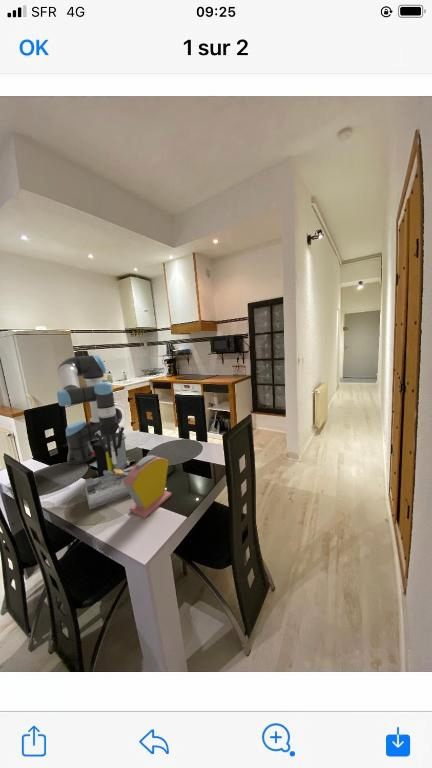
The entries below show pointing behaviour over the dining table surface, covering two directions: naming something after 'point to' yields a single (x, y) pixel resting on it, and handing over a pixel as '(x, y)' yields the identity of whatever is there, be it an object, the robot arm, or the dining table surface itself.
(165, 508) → the dining table surface
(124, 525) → the dining table surface
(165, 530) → the dining table surface
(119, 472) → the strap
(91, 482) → the grey slider block
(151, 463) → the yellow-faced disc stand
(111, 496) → the rail slide plate
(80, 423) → the robot arm
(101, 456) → the electrical component
